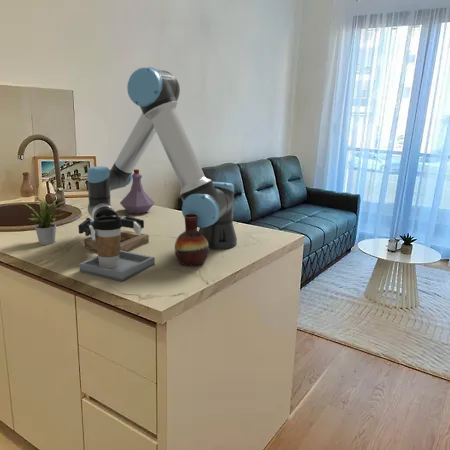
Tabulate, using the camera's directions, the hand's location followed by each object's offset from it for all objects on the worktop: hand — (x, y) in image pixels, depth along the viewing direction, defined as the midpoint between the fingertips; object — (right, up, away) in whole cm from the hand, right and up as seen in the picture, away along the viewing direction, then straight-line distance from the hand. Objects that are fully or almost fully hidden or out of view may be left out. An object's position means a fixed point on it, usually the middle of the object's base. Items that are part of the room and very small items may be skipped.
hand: (117, 233), depth 128 cm
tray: (-1, -11, +4) cm, 12 cm away
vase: (+22, -10, +11) cm, 26 cm away
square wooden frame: (-6, -5, +26) cm, 27 cm away
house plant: (-31, -4, +26) cm, 41 cm away
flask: (-9, +9, +76) cm, 77 cm away
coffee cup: (-4, -10, +4) cm, 11 cm away
